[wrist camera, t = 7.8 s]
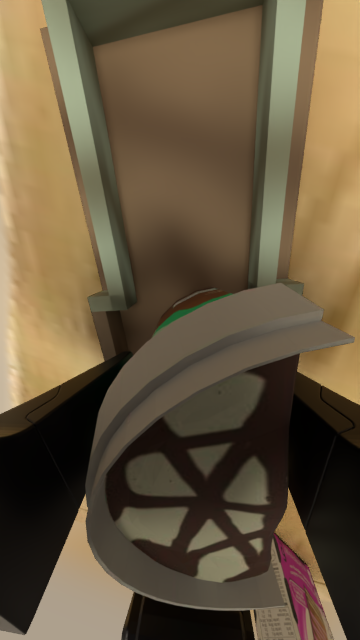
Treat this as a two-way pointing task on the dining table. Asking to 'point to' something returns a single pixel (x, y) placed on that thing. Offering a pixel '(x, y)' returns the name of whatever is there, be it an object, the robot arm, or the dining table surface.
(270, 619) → the candy bar box
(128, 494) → the food container
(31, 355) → the dining table surface
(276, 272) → the green flat tray
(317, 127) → the dining table surface
